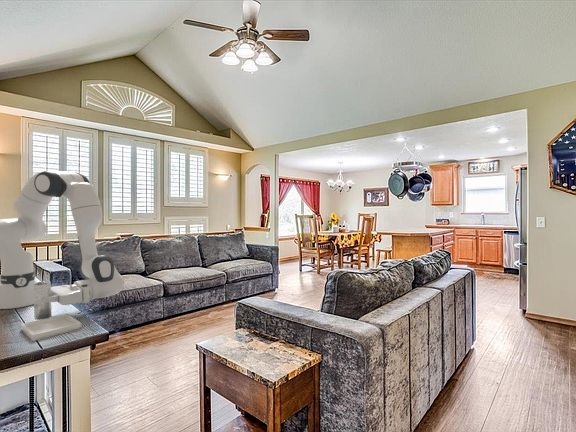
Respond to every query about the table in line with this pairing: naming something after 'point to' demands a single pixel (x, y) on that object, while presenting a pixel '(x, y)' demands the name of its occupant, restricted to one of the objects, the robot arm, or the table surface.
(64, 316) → the cream tray
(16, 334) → the table surface
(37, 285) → the metal cup with balls
